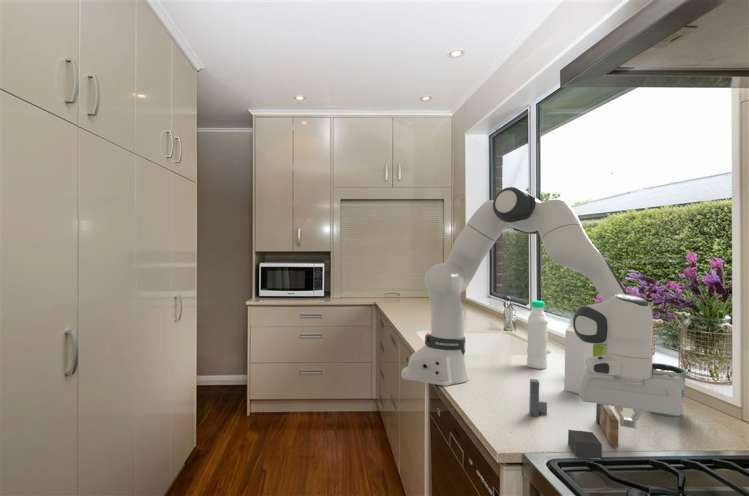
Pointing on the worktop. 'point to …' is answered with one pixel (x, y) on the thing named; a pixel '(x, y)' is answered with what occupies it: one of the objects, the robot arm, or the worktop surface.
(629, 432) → the worktop surface
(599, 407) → the hinge post
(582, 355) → the milk
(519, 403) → the worktop surface
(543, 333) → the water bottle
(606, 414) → the gate
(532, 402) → the post
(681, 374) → the grey green cup
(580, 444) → the block
